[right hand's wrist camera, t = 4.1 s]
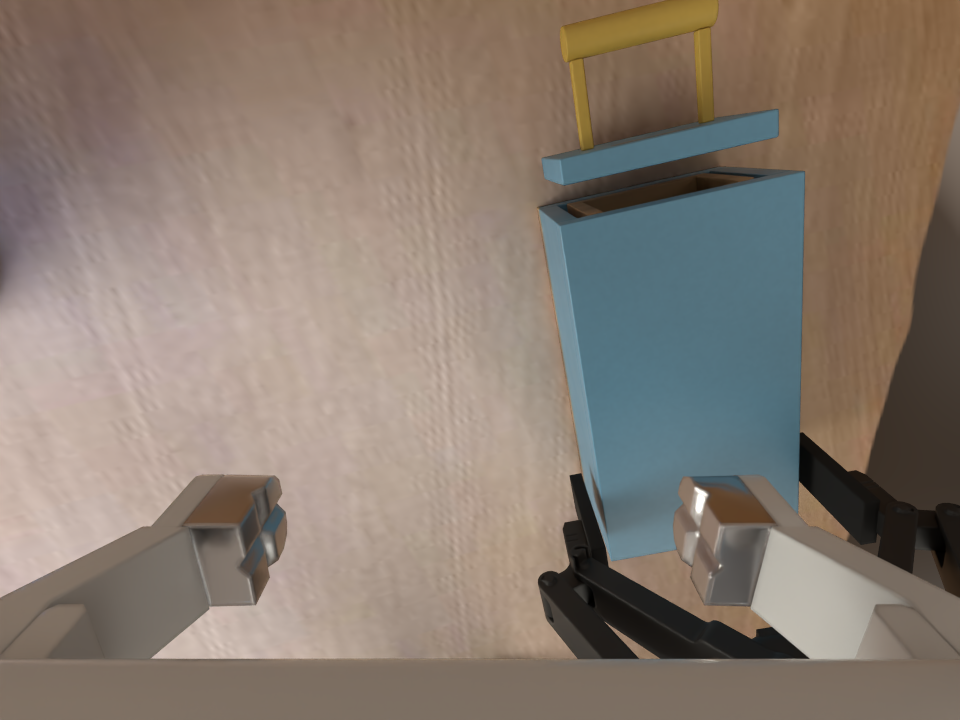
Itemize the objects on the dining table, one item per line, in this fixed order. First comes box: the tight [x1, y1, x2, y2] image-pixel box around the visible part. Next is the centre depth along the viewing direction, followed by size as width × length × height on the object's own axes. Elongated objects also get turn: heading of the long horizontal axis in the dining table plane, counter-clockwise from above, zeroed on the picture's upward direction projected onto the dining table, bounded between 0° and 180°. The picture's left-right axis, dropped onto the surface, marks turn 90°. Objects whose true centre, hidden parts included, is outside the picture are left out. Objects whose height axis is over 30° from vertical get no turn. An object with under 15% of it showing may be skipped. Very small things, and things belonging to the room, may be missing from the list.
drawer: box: [542, 0, 779, 218], centre depth 29 cm, size 25×10×6 cm, turn 12°
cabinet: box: [537, 166, 805, 561], centre depth 31 cm, size 21×11×8 cm, turn 12°
